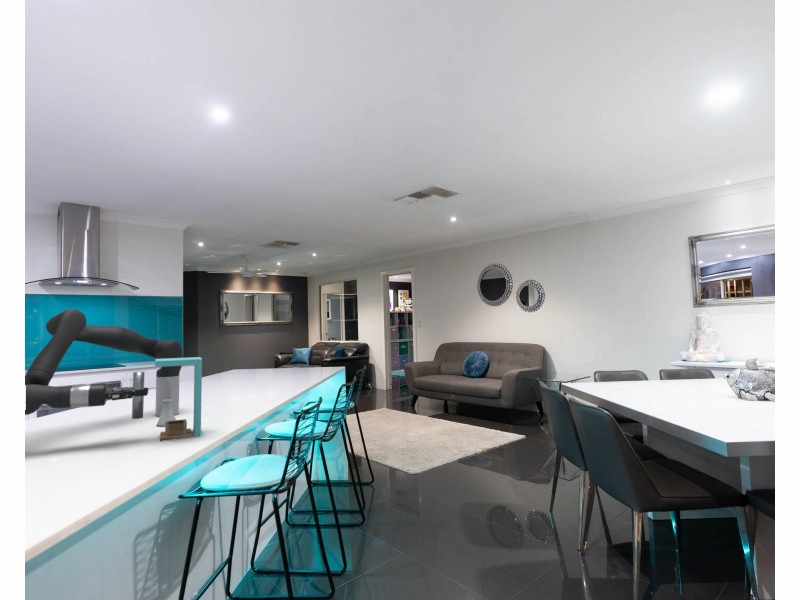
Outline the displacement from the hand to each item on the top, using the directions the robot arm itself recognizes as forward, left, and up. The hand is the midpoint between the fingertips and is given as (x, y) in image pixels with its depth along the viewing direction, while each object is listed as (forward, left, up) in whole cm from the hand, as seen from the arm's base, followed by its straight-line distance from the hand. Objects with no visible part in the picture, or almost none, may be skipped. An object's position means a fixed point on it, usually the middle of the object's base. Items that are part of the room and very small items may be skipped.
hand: (147, 391), depth 152 cm
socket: (0, +9, -17) cm, 19 cm away
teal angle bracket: (0, +9, -17) cm, 19 cm away
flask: (-21, +6, -17) cm, 28 cm away
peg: (0, -3, -9) cm, 9 cm away
